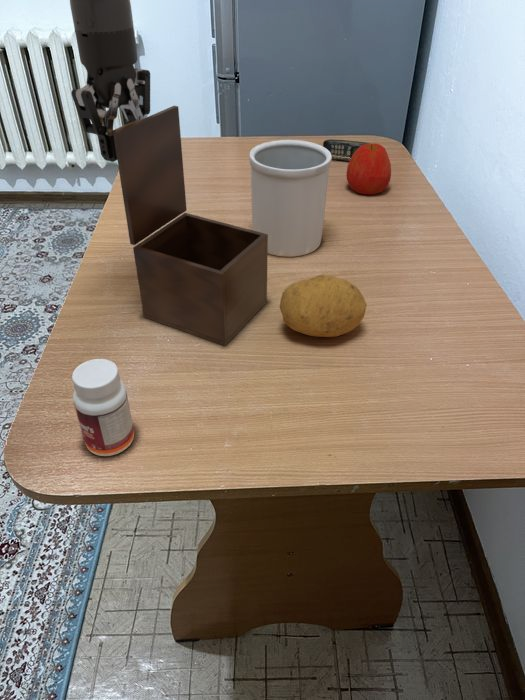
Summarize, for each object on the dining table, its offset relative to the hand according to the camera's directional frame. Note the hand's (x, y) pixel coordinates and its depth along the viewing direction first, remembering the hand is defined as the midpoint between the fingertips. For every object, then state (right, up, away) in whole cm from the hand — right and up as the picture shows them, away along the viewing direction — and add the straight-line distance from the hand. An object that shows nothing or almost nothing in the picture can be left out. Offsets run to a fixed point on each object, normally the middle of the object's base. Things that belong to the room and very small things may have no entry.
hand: (123, 153), depth 84 cm
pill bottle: (+1, -41, -12) cm, 42 cm away
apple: (+45, +9, +49) cm, 67 cm away
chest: (+11, -23, +10) cm, 27 cm away
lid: (+5, -4, -1) cm, 6 cm away
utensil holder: (+26, -8, +29) cm, 39 cm away
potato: (+30, -26, +6) cm, 40 cm away
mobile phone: (+44, +20, +63) cm, 79 cm away
